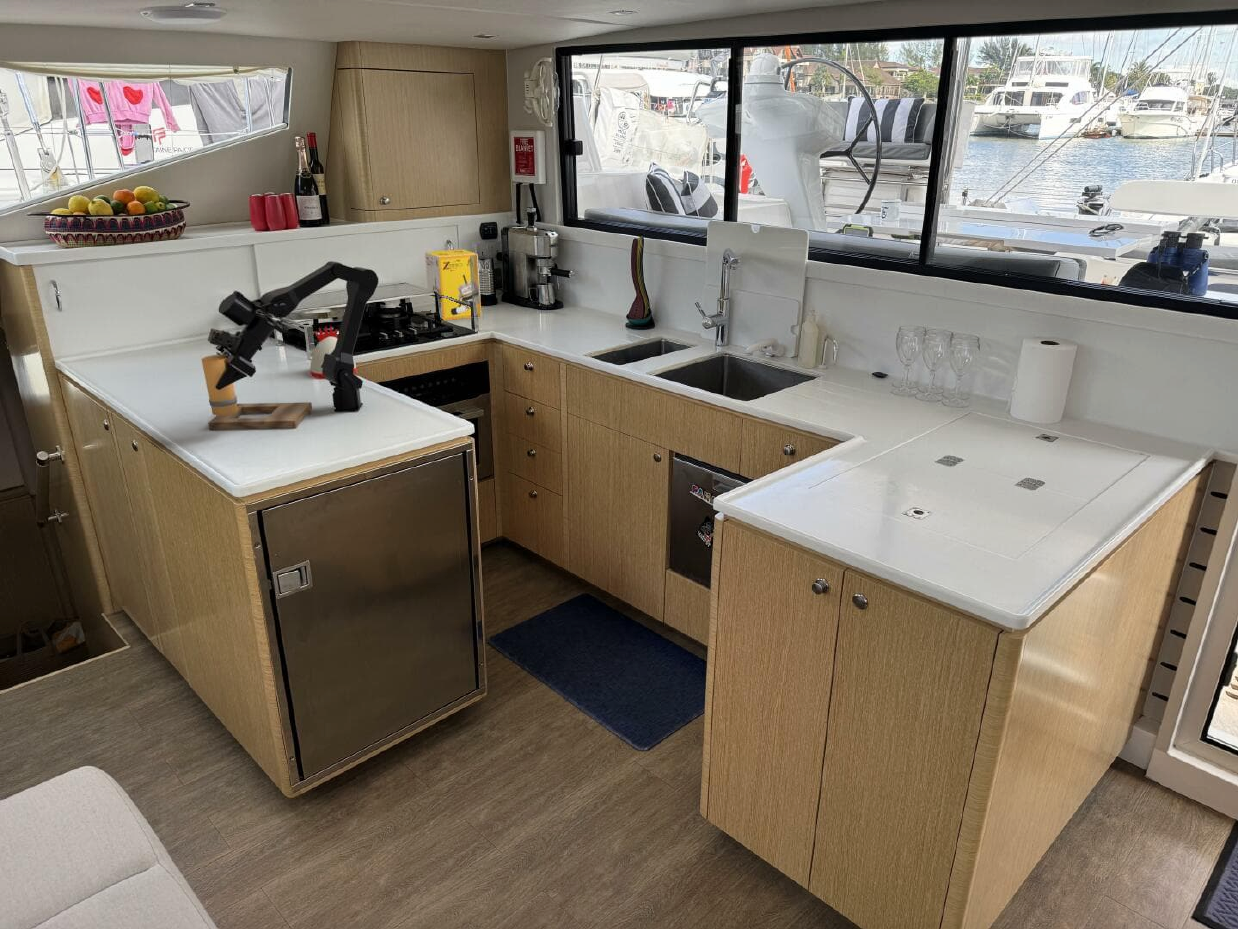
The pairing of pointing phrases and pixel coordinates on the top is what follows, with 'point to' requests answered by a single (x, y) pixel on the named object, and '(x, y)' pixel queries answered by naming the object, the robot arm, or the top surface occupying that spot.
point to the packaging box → (454, 281)
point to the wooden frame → (279, 418)
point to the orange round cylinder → (218, 399)
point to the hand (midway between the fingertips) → (214, 385)
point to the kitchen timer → (323, 352)
